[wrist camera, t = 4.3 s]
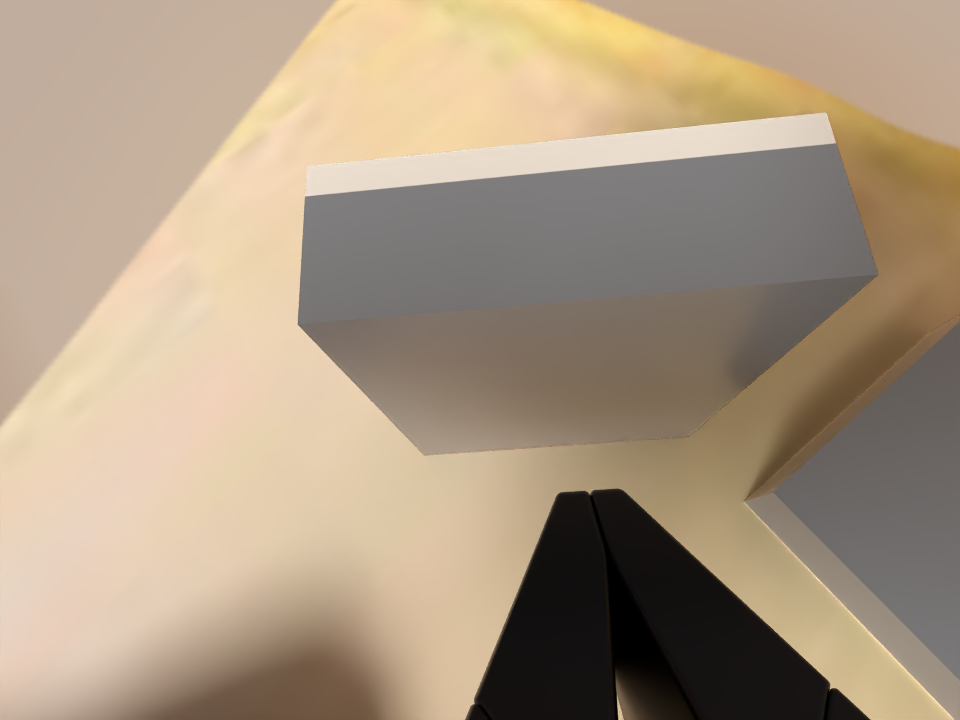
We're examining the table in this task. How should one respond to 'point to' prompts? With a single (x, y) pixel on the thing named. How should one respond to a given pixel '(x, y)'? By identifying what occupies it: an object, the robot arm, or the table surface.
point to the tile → (578, 278)
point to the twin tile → (887, 511)
